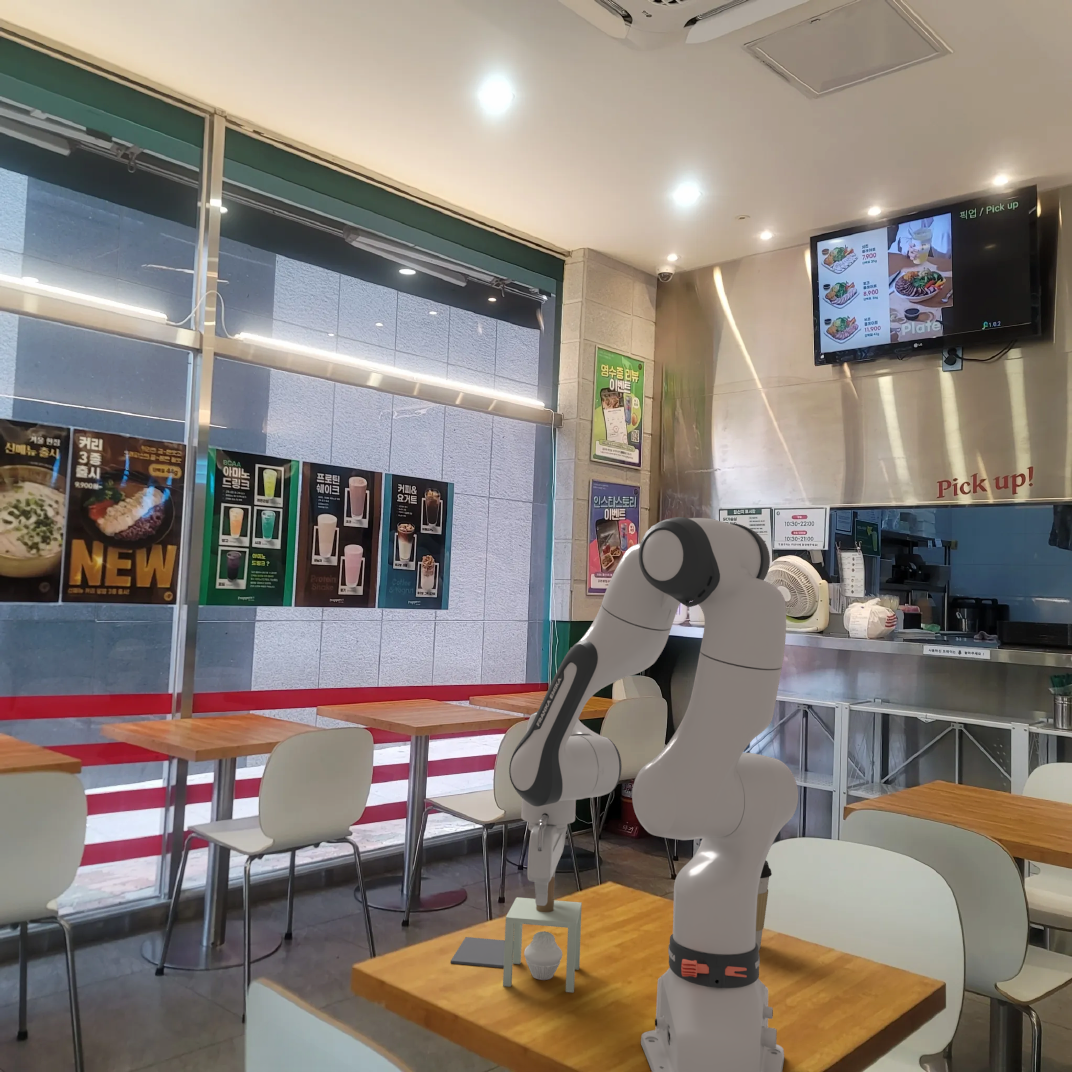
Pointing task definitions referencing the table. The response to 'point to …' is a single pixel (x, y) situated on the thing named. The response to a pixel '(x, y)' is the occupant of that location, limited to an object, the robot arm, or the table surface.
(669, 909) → the table surface
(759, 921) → the coffee cup
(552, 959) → the muffin
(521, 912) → the cover
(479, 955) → the mat
